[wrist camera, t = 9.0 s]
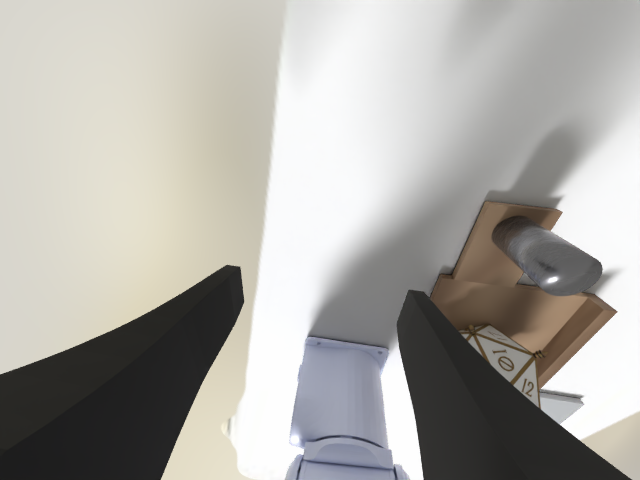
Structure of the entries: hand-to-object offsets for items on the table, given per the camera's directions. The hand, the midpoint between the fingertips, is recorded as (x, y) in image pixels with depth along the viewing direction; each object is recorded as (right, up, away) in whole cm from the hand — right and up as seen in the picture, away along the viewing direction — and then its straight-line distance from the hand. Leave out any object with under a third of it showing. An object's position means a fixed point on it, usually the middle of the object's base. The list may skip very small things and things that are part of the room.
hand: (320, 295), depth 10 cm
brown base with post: (+17, -4, +12) cm, 21 cm away
